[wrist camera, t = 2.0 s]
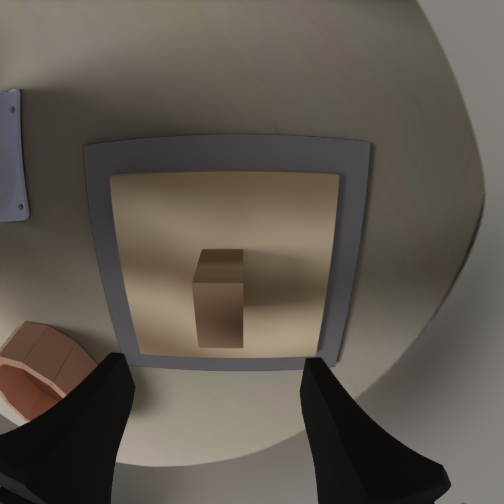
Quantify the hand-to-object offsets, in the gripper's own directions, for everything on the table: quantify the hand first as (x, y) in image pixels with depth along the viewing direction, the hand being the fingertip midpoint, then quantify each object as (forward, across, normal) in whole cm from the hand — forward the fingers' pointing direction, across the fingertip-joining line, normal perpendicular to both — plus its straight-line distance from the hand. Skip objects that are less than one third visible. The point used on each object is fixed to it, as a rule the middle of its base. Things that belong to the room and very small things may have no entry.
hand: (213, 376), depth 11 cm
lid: (+9, 0, 0) cm, 9 cm away
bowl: (+9, +17, +11) cm, 22 cm away
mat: (+9, 0, 0) cm, 9 cm away
